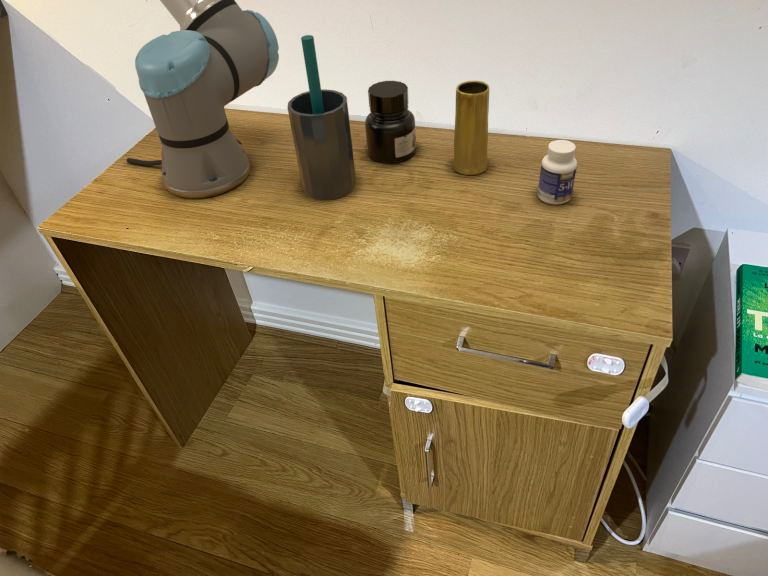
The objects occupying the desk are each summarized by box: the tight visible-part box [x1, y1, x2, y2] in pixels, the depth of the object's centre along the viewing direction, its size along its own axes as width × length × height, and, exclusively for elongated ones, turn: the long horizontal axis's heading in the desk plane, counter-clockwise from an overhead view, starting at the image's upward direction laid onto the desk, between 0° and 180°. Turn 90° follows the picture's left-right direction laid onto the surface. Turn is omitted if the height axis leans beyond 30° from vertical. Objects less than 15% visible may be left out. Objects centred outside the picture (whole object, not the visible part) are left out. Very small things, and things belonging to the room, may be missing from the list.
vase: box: [452, 80, 490, 176], centre depth 98 cm, size 6×6×14 cm
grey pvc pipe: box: [287, 88, 357, 201], centre depth 96 cm, size 9×9×15 cm
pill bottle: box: [537, 139, 578, 205], centre depth 91 cm, size 5×5×9 cm
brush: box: [300, 34, 324, 114], centre depth 93 cm, size 4×4×24 cm
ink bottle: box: [364, 80, 417, 163], centre depth 104 cm, size 10×9×12 cm
